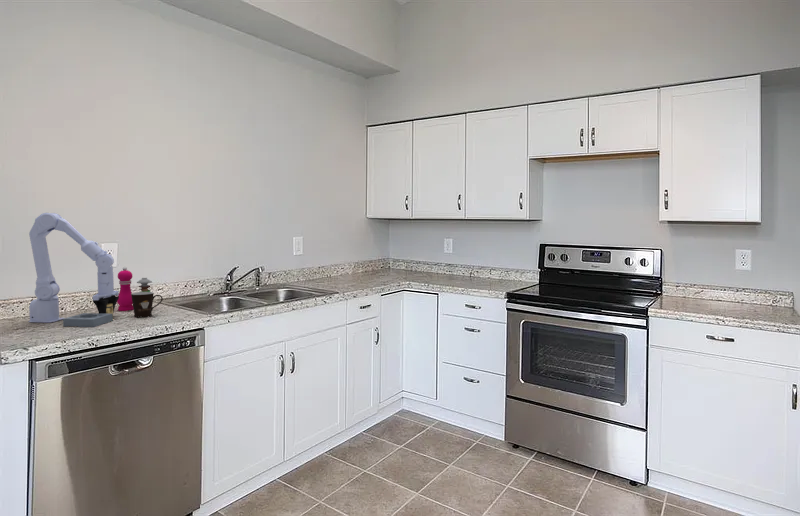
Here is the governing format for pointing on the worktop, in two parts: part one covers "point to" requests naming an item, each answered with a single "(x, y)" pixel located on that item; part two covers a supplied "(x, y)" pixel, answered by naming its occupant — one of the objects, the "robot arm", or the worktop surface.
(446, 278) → the worktop surface
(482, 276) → the worktop surface
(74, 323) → the bore block
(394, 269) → the worktop surface
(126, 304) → the pepper mill
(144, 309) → the coffee mug
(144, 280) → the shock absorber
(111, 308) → the cylinder
